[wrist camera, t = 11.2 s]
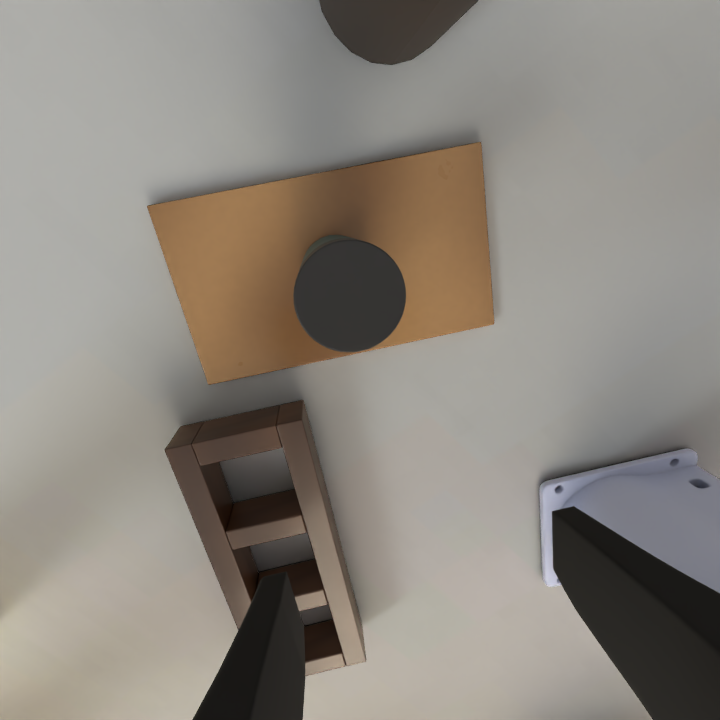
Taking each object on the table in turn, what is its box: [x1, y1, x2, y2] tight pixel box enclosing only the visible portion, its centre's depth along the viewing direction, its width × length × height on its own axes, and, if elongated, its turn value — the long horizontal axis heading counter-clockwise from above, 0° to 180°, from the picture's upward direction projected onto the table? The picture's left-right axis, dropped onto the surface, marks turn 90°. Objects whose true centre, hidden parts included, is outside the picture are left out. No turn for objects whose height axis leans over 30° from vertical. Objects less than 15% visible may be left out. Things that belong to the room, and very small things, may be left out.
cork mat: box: [147, 142, 494, 385], centre depth 18 cm, size 14×8×1 cm, turn 100°
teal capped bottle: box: [293, 235, 406, 352], centre depth 14 cm, size 3×3×8 cm
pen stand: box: [165, 400, 366, 676], centre depth 21 cm, size 6×16×2 cm, turn 10°
